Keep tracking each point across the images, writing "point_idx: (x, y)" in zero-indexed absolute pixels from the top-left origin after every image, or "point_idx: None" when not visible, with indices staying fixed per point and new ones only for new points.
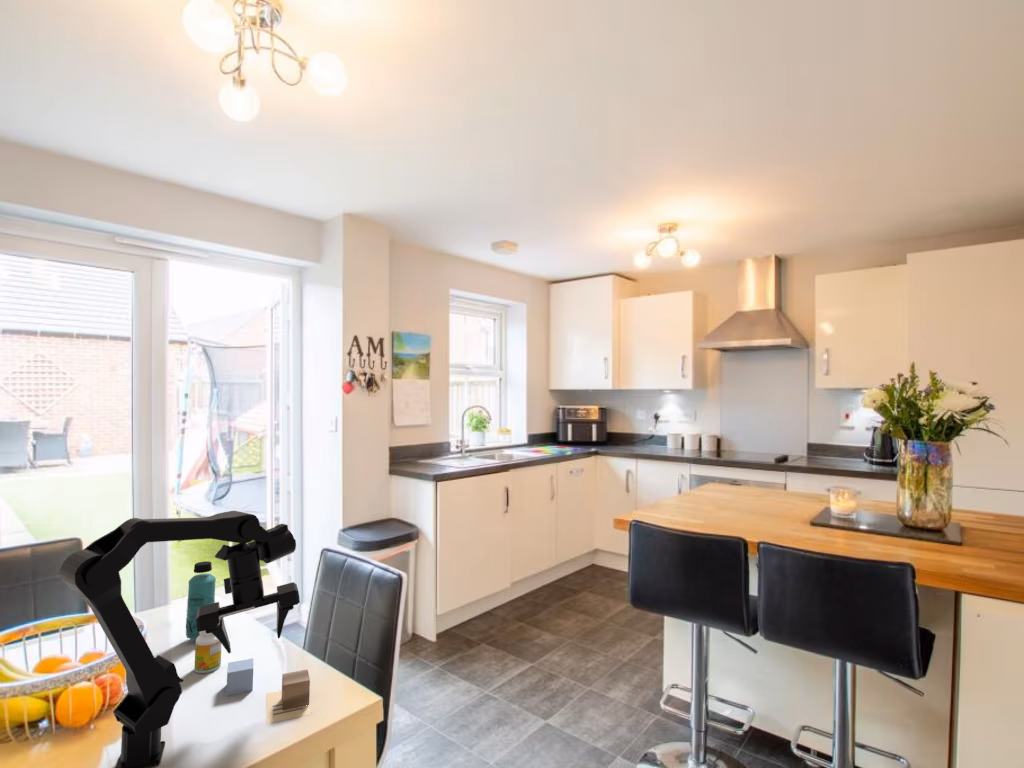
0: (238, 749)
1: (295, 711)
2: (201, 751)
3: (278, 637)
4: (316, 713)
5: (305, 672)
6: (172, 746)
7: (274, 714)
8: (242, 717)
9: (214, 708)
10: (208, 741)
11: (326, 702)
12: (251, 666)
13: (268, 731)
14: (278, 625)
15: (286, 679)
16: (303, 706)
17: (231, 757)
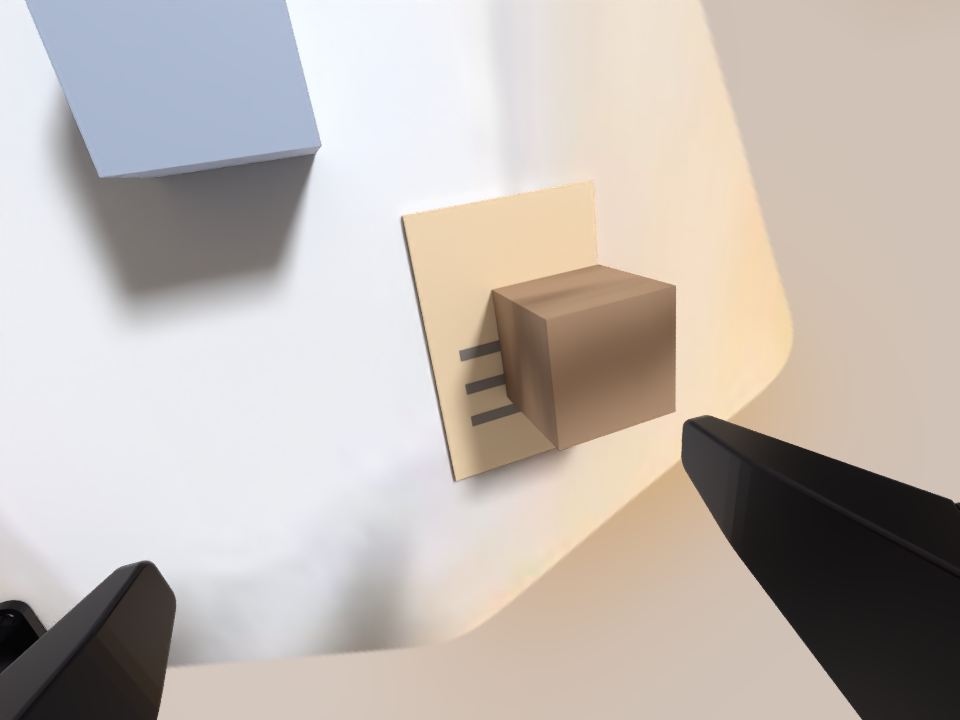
0: (383, 607)
1: None
2: (241, 624)
3: (695, 475)
4: None
5: (662, 323)
6: None
7: (477, 421)
8: (336, 416)
9: (137, 310)
10: (242, 571)
11: None
12: (294, 99)
13: (467, 515)
14: (843, 684)
15: (570, 390)
16: None
17: (370, 643)
